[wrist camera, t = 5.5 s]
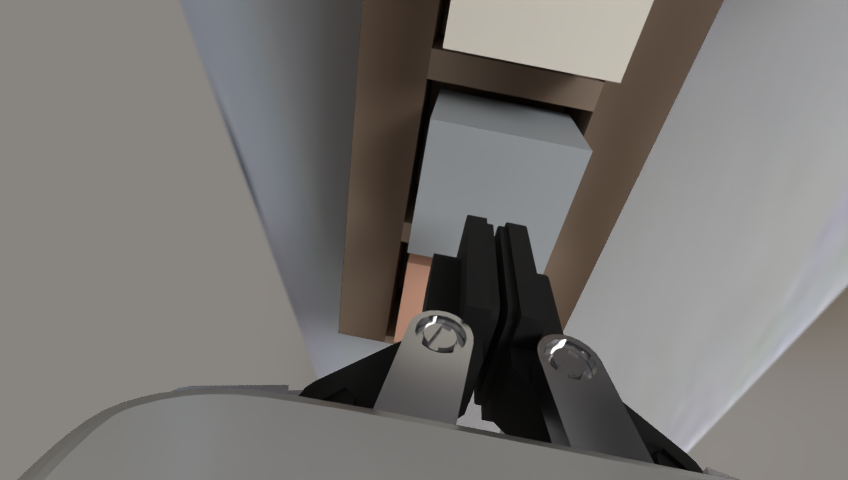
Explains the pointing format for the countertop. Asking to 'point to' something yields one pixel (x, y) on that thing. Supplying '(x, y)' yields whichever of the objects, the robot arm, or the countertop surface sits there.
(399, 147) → the key console
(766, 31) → the countertop surface
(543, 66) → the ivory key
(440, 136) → the slate key
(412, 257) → the terracotta key
